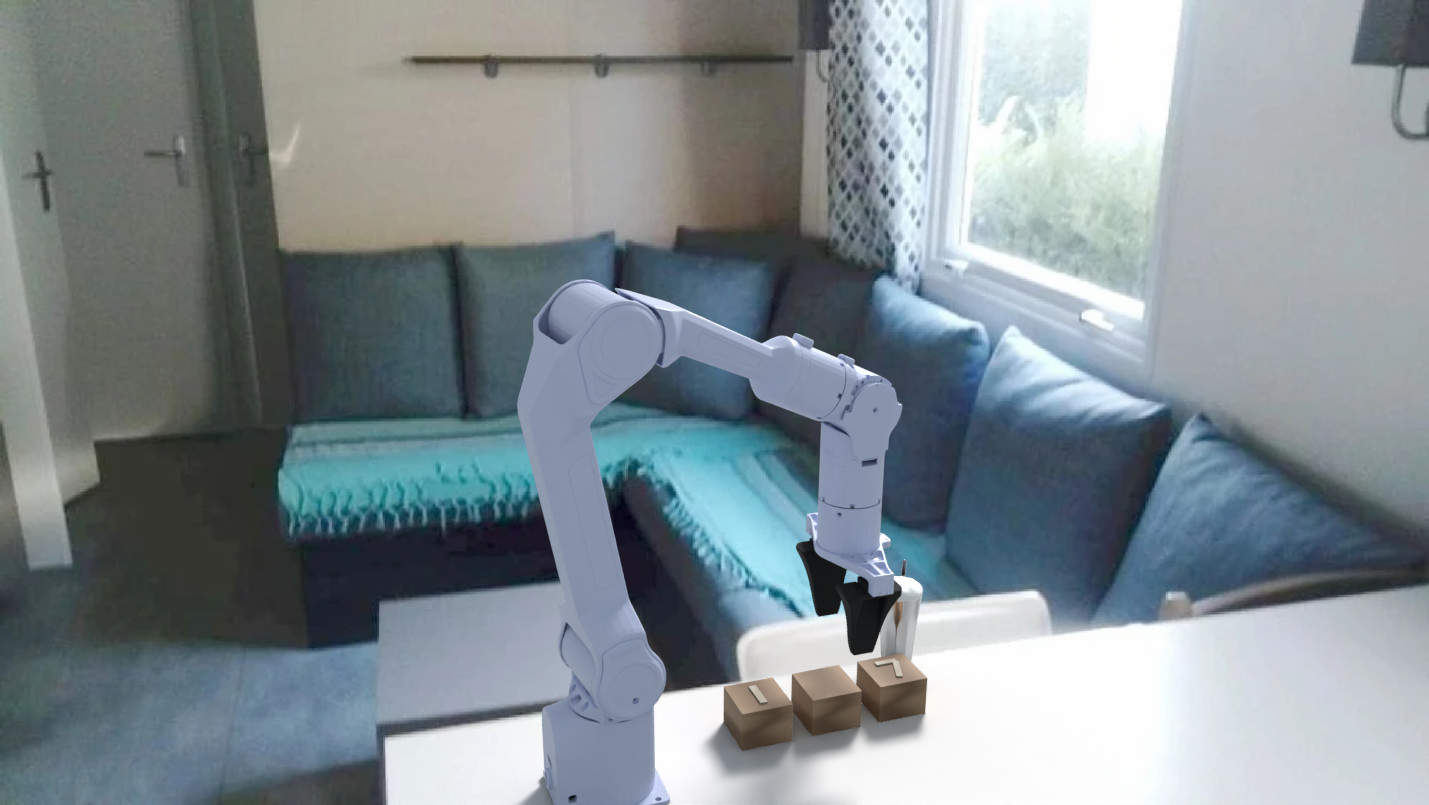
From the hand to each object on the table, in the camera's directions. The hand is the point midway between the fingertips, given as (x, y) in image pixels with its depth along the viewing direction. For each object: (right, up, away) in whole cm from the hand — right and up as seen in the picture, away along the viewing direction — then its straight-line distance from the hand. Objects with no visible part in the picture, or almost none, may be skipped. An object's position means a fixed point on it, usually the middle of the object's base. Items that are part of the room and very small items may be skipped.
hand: (843, 632), depth 107 cm
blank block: (-1, -9, +3) cm, 10 cm away
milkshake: (+7, -6, +14) cm, 17 cm away
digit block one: (-8, -10, +1) cm, 13 cm away
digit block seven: (+5, -8, +6) cm, 11 cm away
